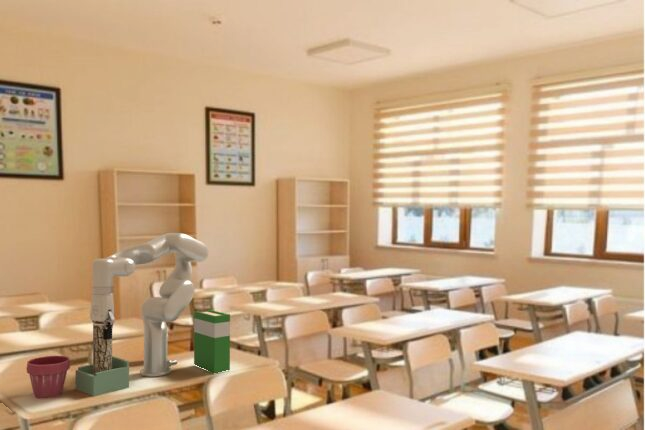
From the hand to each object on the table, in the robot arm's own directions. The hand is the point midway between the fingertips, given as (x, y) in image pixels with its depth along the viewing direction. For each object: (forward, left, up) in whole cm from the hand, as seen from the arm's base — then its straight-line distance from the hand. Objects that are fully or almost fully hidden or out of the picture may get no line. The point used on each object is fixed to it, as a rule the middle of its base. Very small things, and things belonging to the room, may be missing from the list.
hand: (102, 337), depth 205 cm
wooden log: (0, 0, -19) cm, 19 cm away
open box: (0, 0, -19) cm, 19 cm away
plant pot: (+17, -7, -20) cm, 27 cm away
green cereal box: (-45, +9, -20) cm, 50 cm away
